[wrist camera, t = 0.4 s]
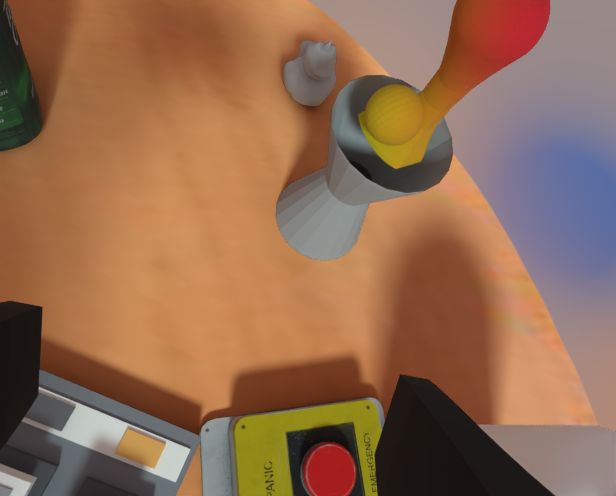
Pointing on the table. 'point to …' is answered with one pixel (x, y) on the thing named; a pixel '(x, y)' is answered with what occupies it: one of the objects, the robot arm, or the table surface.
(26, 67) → the coffee jar
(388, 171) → the lava lamp
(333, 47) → the rubber duck
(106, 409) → the panel
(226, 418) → the emergency button
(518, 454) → the white jar
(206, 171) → the table surface
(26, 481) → the rocker
